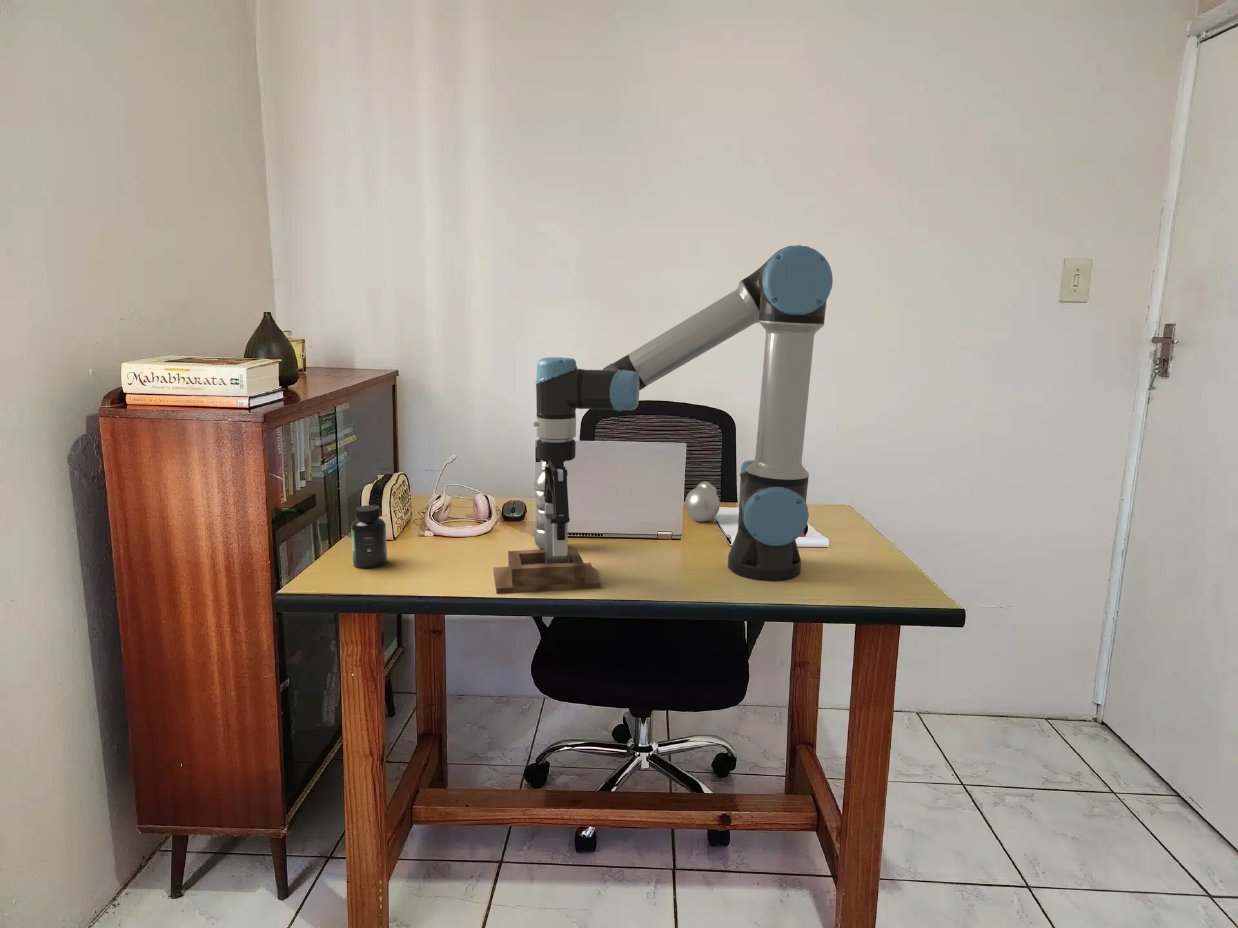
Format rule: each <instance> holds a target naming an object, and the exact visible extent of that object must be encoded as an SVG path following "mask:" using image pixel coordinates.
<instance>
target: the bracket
mask: <svg viewBox="0 0 1238 928" xmlns="http://www.w3.org/2000/svg"><path fill="white" fill-rule="evenodd" d="M559 516H564V515H559ZM551 519H554V514H545V563H535V564H556V563H567V556H553V524H550V521H551ZM535 564H525V565H535Z"/></svg>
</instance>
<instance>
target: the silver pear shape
mask: <svg viewBox="0 0 1238 928" xmlns="http://www.w3.org/2000/svg"><path fill="white" fill-rule="evenodd" d="M717 493H718V490H717V488H716V487H715V486H714V485H712V484H711V483H710V482H708V481H705V480H704V481H702V482H700V483H698V484H697V486H696V487H695V488H693V489H692V490H690V491H689V492H688V494H687V495H686V498H685V501H684V509H685V511H686V514H687V515H688V516H689V517H690V518H691V519H692V520H694V521H696V522H701V523H703V522H704V523H705V522H709V521H711V520H712V519H714V518H715V517H716V516H717V514H718V513H719V511H720V507H721V504H720V503H721V501H720V498H719V496H718V494H717Z"/></svg>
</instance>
